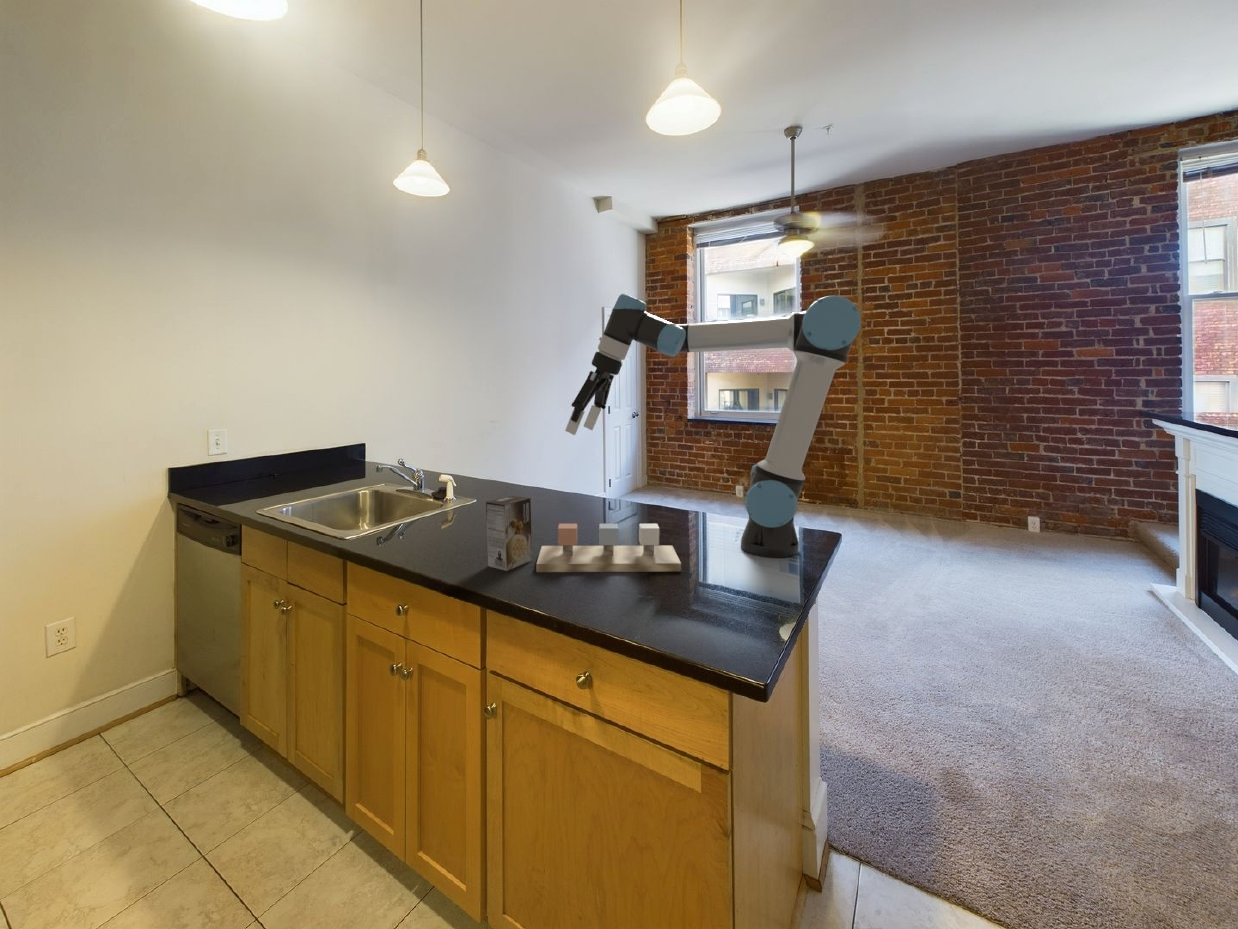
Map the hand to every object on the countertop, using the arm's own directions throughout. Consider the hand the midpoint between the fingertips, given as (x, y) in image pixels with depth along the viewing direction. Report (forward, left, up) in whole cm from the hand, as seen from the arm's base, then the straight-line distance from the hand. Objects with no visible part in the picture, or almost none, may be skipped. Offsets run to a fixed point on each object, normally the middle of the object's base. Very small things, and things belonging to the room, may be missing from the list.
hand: (579, 430), depth 142 cm
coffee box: (+16, +16, -32) cm, 39 cm away
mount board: (-8, +15, -31) cm, 36 cm away
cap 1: (+2, +15, -26) cm, 30 cm away
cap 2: (-18, +15, -26) cm, 35 cm away
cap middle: (-8, +15, -26) cm, 31 cm away
